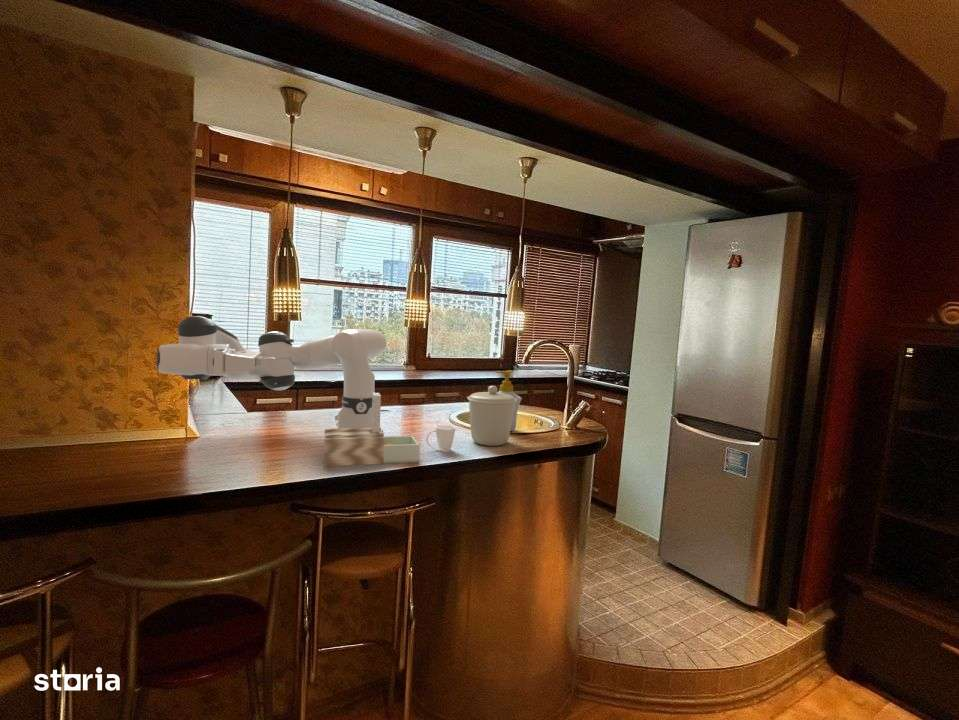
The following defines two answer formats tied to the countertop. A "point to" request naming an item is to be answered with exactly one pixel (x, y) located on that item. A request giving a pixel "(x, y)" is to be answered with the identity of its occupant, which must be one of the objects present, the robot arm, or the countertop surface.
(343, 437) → the chevron patterned box
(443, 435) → the cup
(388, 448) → the pale green open box
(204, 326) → the robot arm
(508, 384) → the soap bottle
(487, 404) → the canister
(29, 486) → the countertop surface
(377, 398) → the plunger paddle
